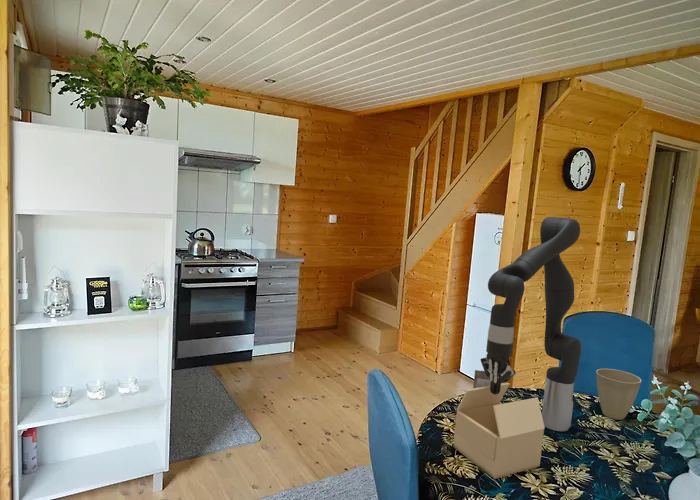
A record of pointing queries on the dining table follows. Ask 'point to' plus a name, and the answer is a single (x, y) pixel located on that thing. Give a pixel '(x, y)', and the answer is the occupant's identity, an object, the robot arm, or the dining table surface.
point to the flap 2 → (518, 417)
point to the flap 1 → (481, 397)
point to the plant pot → (616, 392)
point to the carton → (495, 443)
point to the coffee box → (481, 379)
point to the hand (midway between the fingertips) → (494, 393)
